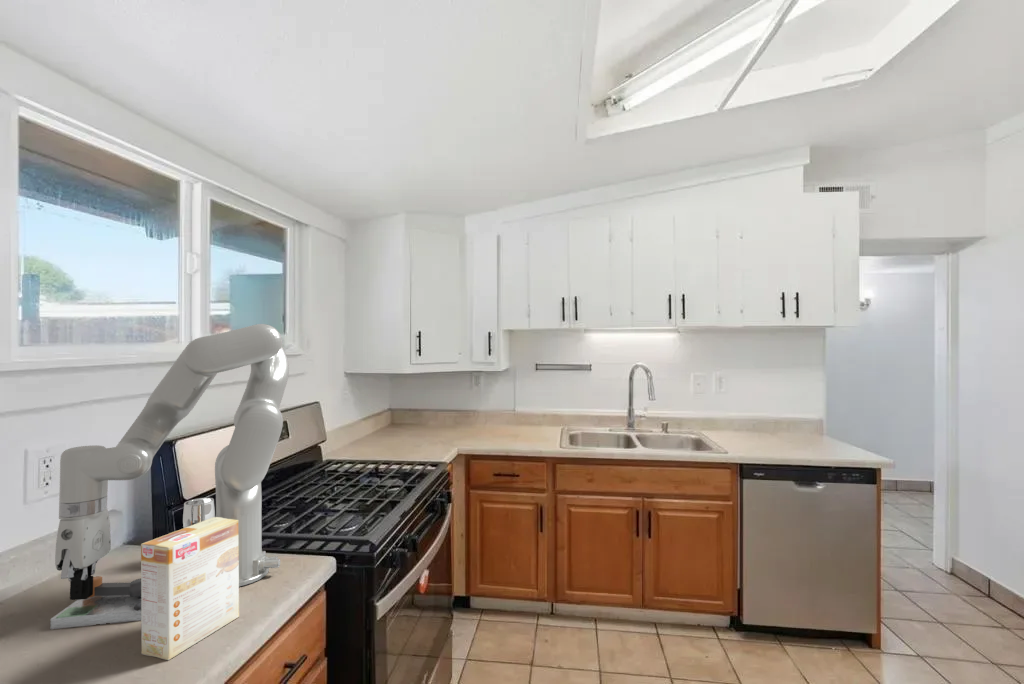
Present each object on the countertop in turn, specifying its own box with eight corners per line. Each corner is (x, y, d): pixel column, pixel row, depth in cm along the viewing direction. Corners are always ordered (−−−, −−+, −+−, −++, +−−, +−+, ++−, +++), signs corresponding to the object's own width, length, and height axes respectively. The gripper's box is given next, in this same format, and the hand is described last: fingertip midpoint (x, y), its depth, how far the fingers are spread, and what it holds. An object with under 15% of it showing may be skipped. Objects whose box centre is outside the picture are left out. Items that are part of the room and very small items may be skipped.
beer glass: (220, 556, 129) (220, 499, 130) (194, 567, 123) (194, 506, 123) (203, 552, 132) (203, 496, 133) (176, 562, 126) (176, 503, 126)
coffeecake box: (213, 611, 101) (213, 516, 102) (240, 617, 99) (240, 519, 100) (138, 654, 87) (139, 542, 87) (168, 661, 85) (168, 547, 85)
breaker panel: (177, 587, 112) (177, 577, 112) (142, 620, 98) (142, 608, 98) (97, 594, 109) (97, 584, 109) (50, 629, 96) (50, 617, 96)
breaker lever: (154, 588, 106) (154, 574, 107) (142, 596, 103) (142, 582, 103) (91, 590, 106) (92, 575, 106) (77, 598, 103) (77, 583, 103)
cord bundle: (192, 583, 114) (192, 569, 114) (153, 622, 97) (153, 606, 97) (172, 585, 113) (172, 571, 113) (129, 625, 97) (129, 608, 97)
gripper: (80, 517, 95) (78, 614, 94) (125, 496, 110) (123, 580, 109) (34, 520, 94) (32, 618, 93) (86, 498, 108) (84, 583, 108)
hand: (81, 597), depth 101 cm, fingers closed
